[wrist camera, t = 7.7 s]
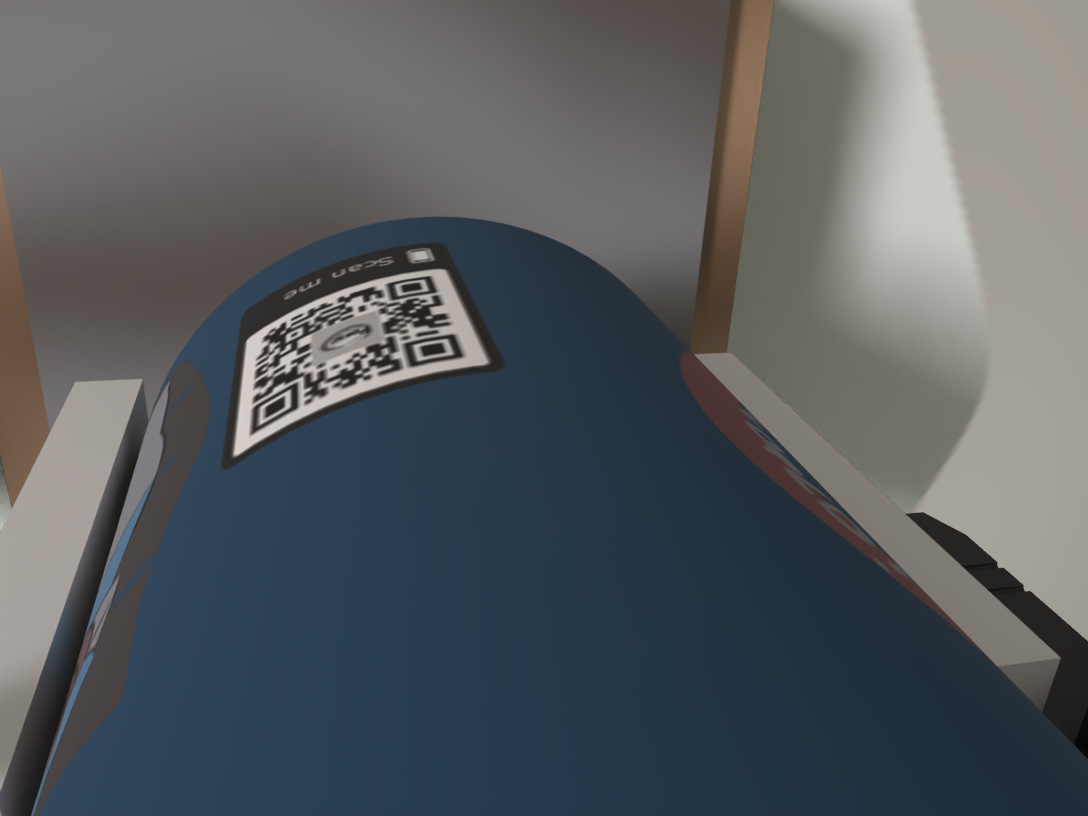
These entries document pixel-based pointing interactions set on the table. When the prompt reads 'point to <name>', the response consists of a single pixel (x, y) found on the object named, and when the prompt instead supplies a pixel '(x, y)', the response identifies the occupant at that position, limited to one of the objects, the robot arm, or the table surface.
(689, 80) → the pedestal
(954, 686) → the soda can
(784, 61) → the table surface
